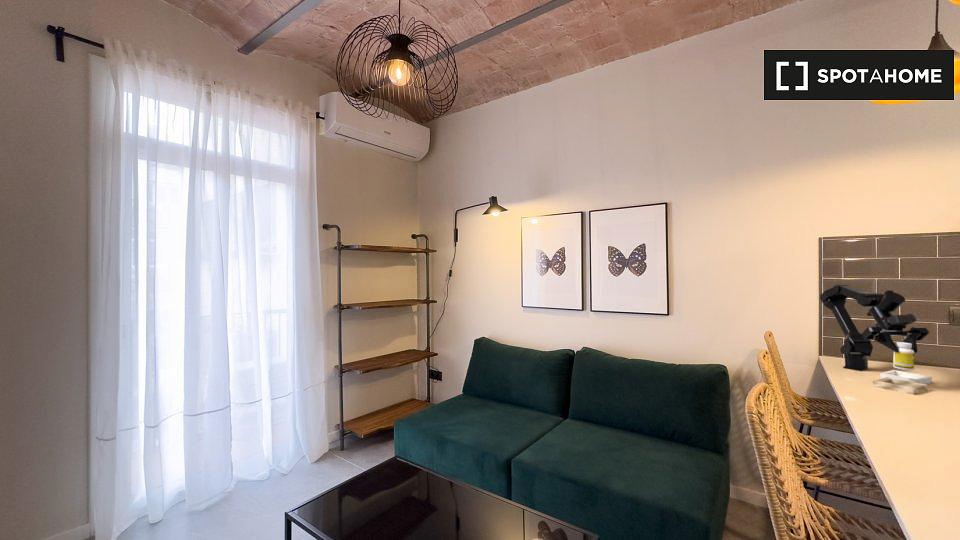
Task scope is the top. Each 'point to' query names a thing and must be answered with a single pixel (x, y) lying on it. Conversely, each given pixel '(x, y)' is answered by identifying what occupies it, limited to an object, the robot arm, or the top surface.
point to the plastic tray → (907, 376)
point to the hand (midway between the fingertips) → (906, 352)
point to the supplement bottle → (903, 356)
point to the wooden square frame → (900, 385)
